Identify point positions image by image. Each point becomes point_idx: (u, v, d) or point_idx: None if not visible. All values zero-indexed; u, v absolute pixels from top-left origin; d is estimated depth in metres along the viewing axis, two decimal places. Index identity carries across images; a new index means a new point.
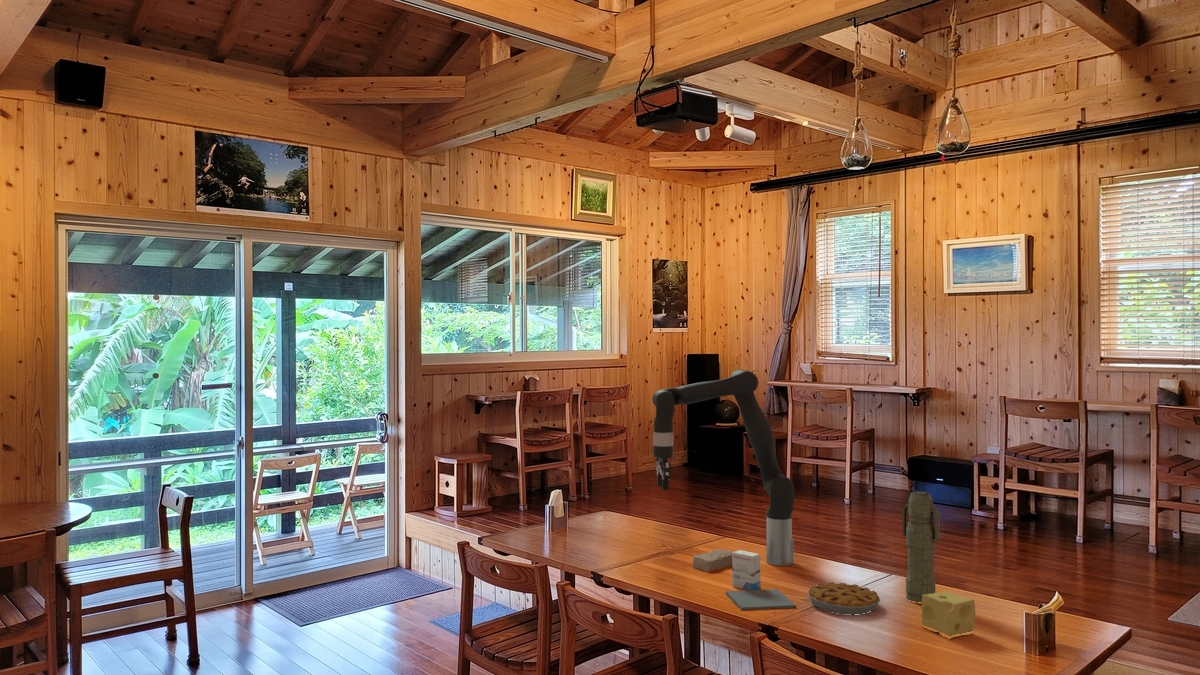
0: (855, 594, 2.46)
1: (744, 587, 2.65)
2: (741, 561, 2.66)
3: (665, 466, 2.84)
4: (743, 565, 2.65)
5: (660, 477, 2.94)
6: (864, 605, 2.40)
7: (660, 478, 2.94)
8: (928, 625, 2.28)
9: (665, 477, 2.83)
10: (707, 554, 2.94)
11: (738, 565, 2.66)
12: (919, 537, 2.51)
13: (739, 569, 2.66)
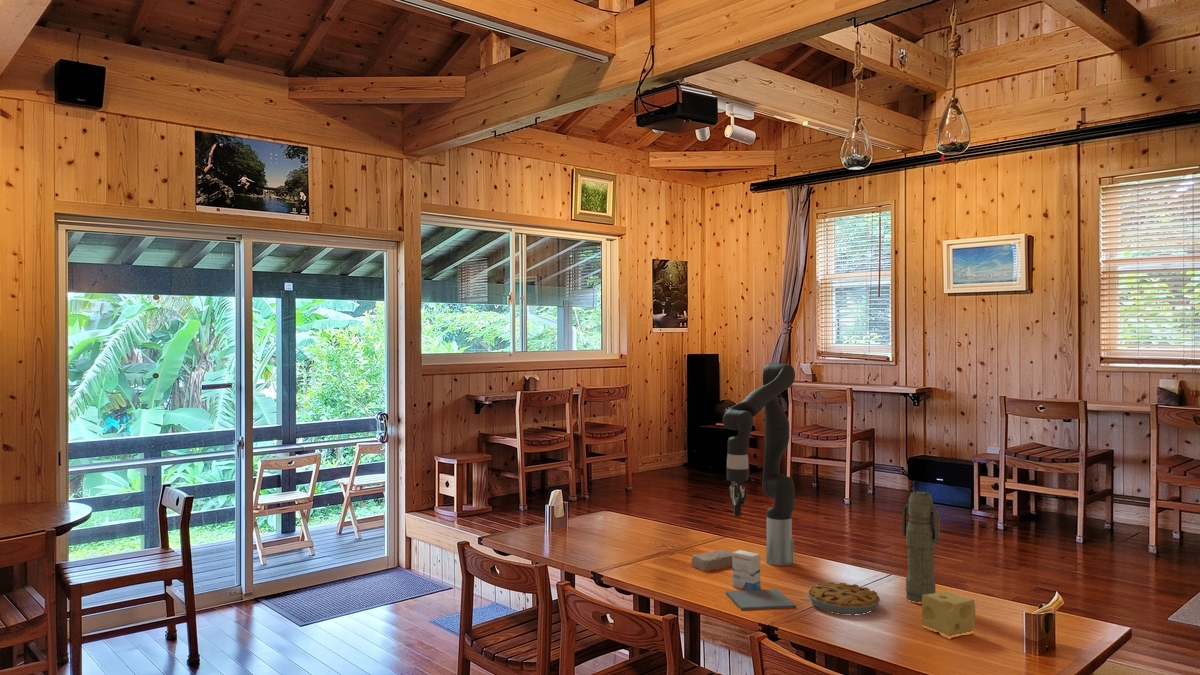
0: (855, 594, 2.46)
1: (744, 587, 2.65)
2: (741, 561, 2.66)
3: (740, 496, 2.72)
4: (743, 565, 2.65)
5: None
6: (864, 605, 2.40)
7: None
8: (928, 625, 2.28)
9: (738, 504, 2.74)
10: (707, 554, 2.94)
11: (738, 565, 2.66)
12: (919, 537, 2.51)
13: (739, 569, 2.66)
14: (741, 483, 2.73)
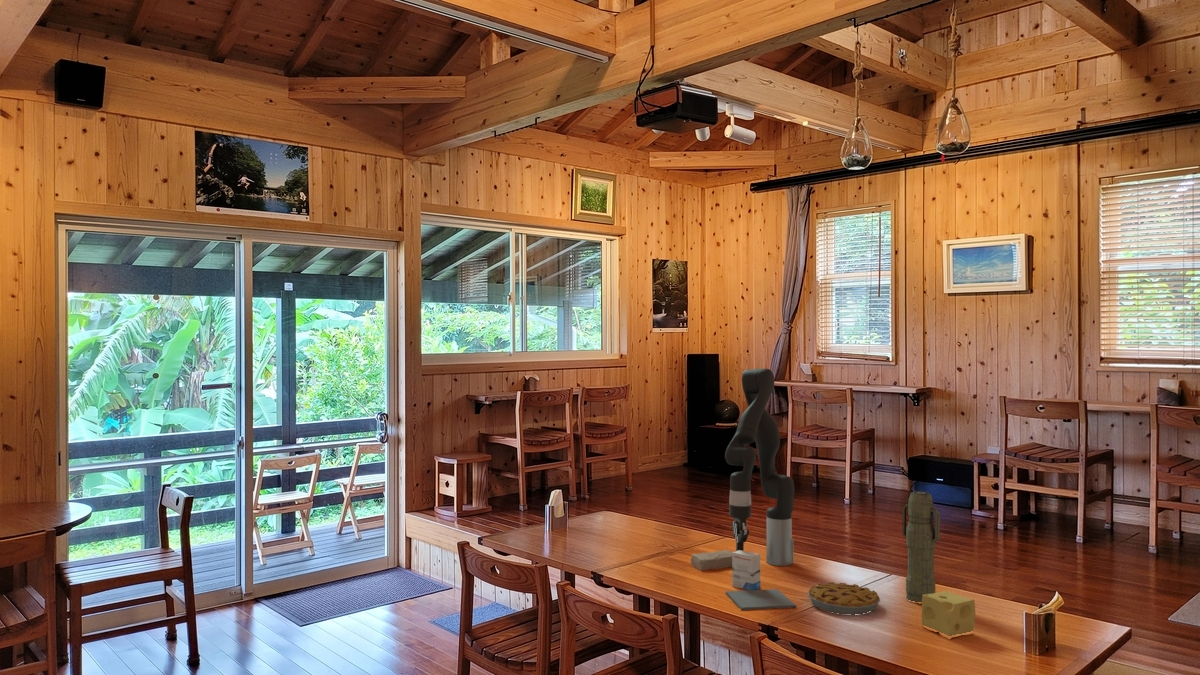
0: (855, 594, 2.46)
1: (744, 587, 2.65)
2: (741, 561, 2.66)
3: (743, 534, 2.68)
4: (743, 565, 2.65)
5: None
6: (864, 605, 2.40)
7: None
8: (928, 625, 2.28)
9: (740, 541, 2.70)
10: (708, 554, 2.95)
11: (738, 565, 2.66)
12: (919, 537, 2.51)
13: (739, 569, 2.66)
14: (744, 520, 2.70)
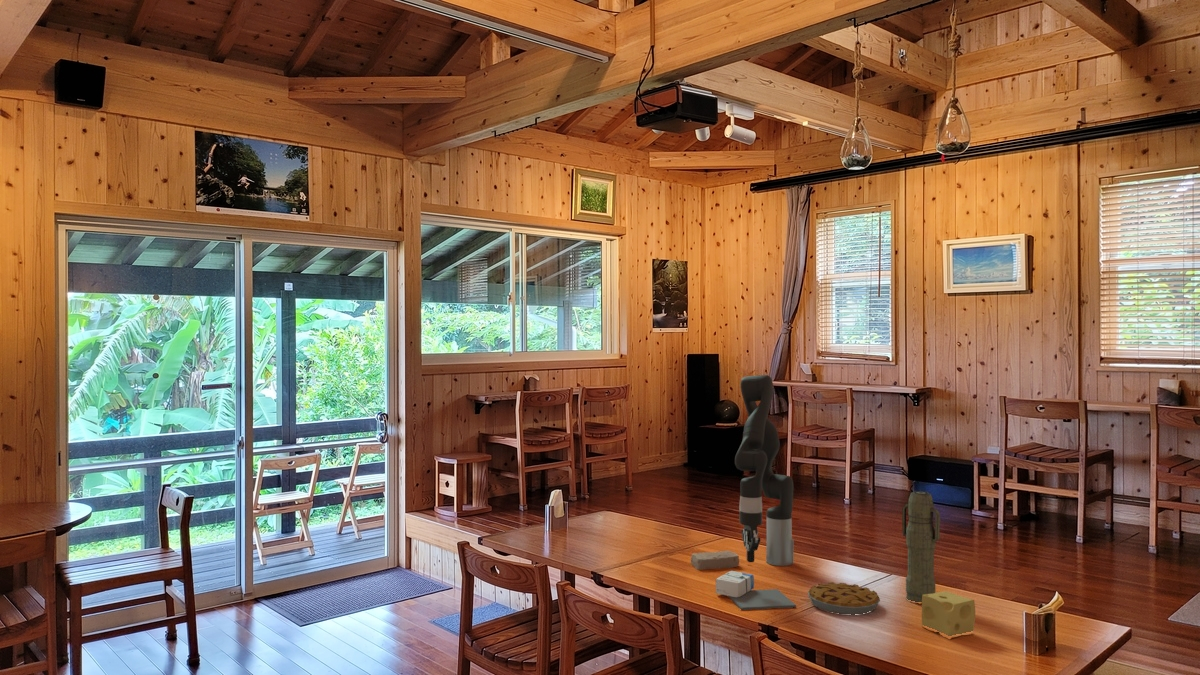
0: (855, 594, 2.46)
1: None
2: None
3: (754, 542, 2.57)
4: None
5: None
6: (864, 605, 2.40)
7: None
8: (928, 625, 2.28)
9: (751, 549, 2.59)
10: (708, 553, 2.95)
11: None
12: (919, 537, 2.51)
13: None
14: (755, 528, 2.59)
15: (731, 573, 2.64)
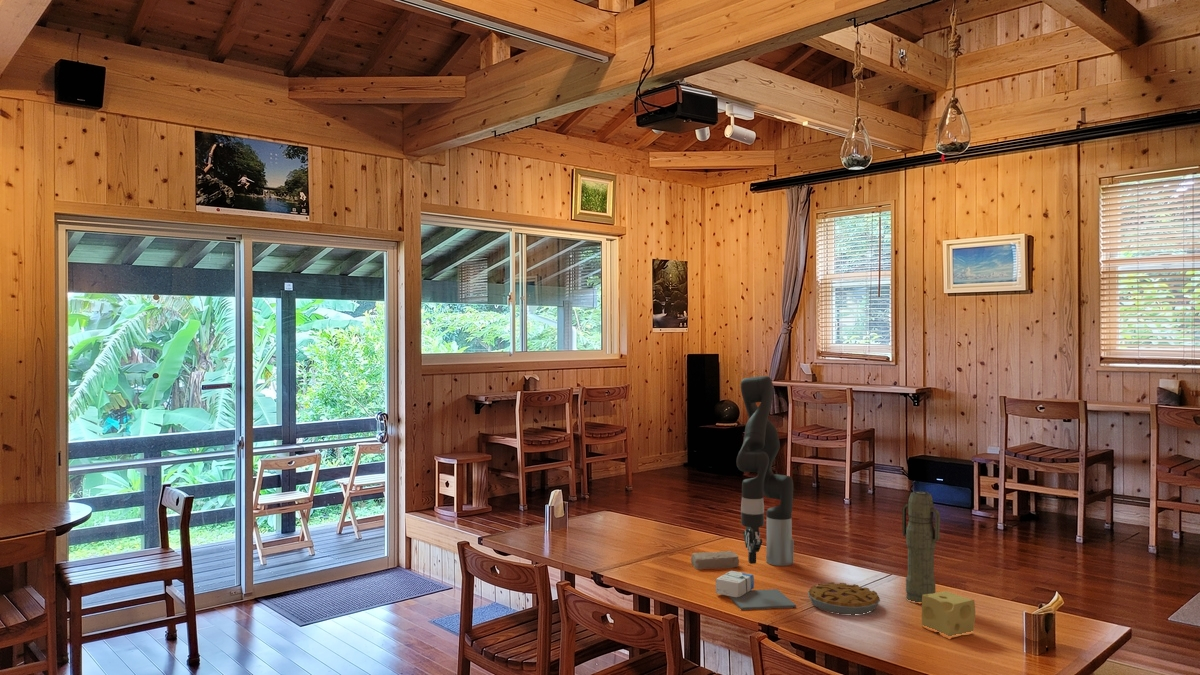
0: (855, 594, 2.46)
1: None
2: None
3: (756, 543, 2.56)
4: None
5: None
6: (864, 605, 2.40)
7: None
8: (928, 625, 2.28)
9: (753, 551, 2.58)
10: (708, 553, 2.95)
11: None
12: (919, 537, 2.51)
13: None
14: (756, 529, 2.58)
15: (731, 573, 2.64)
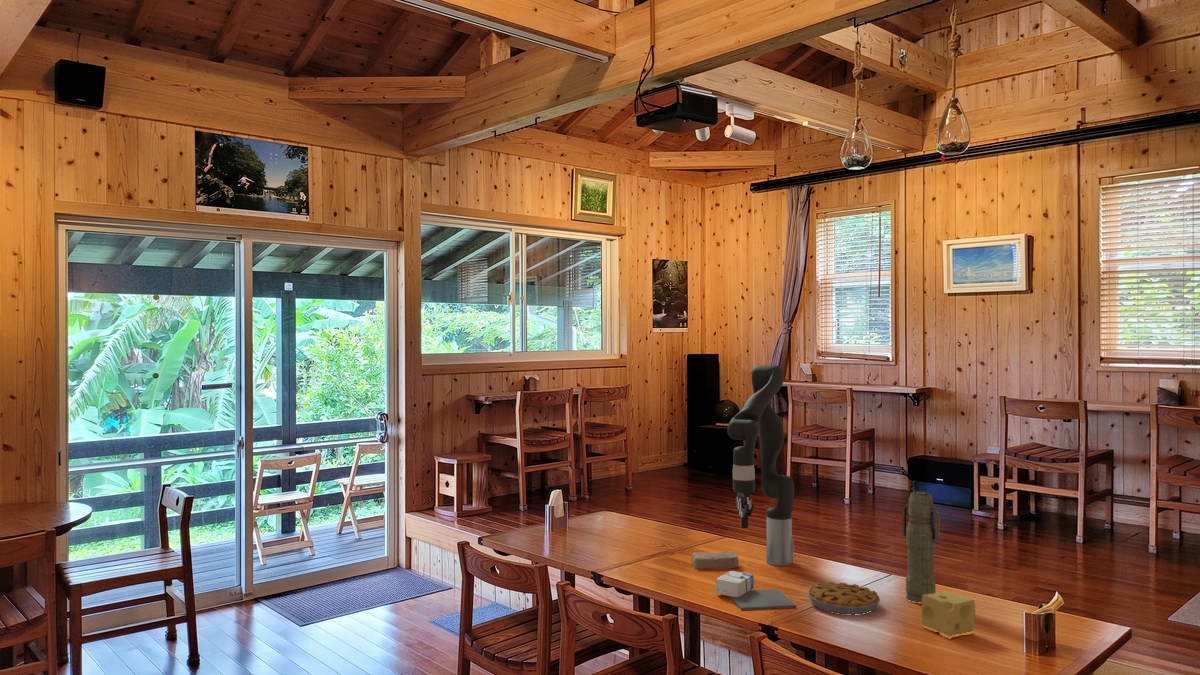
0: (855, 594, 2.46)
1: None
2: None
3: (747, 508, 2.65)
4: None
5: None
6: (864, 605, 2.40)
7: None
8: (928, 625, 2.28)
9: (745, 516, 2.67)
10: (709, 553, 2.95)
11: None
12: (919, 537, 2.51)
13: None
14: (748, 494, 2.67)
15: (731, 573, 2.64)
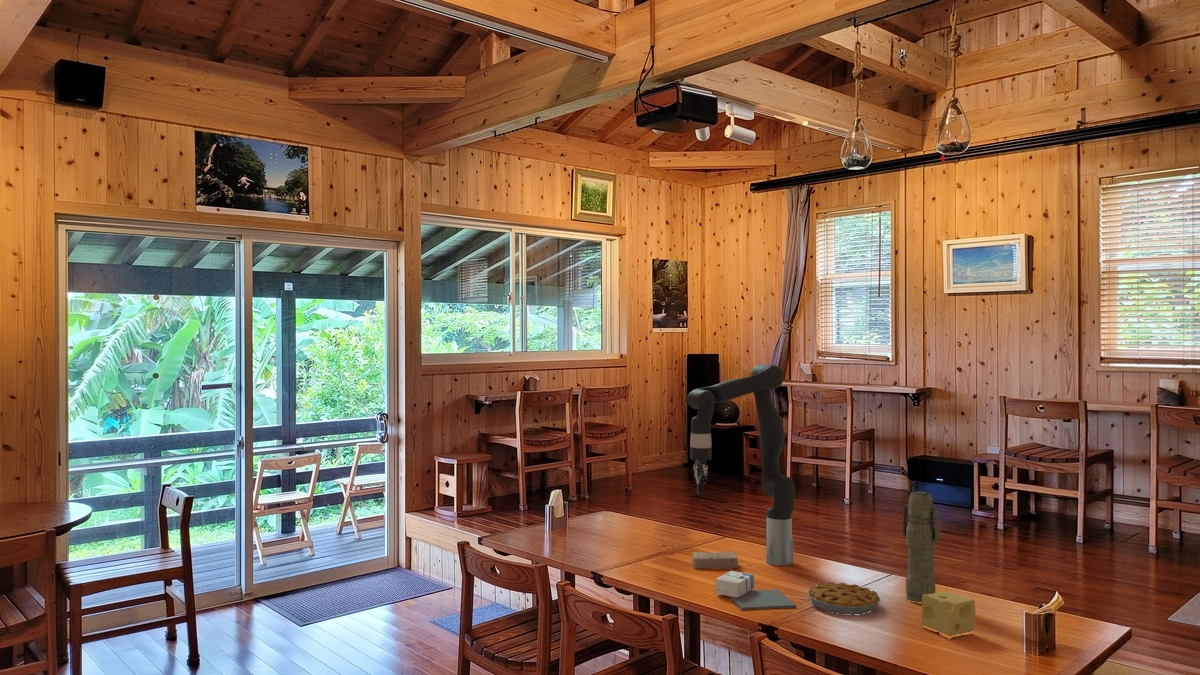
0: (855, 594, 2.46)
1: None
2: None
3: (703, 475, 2.75)
4: None
5: None
6: (864, 605, 2.40)
7: None
8: (928, 625, 2.28)
9: (701, 482, 2.77)
10: (709, 553, 2.95)
11: None
12: (919, 537, 2.51)
13: None
14: (704, 462, 2.77)
15: (731, 573, 2.64)
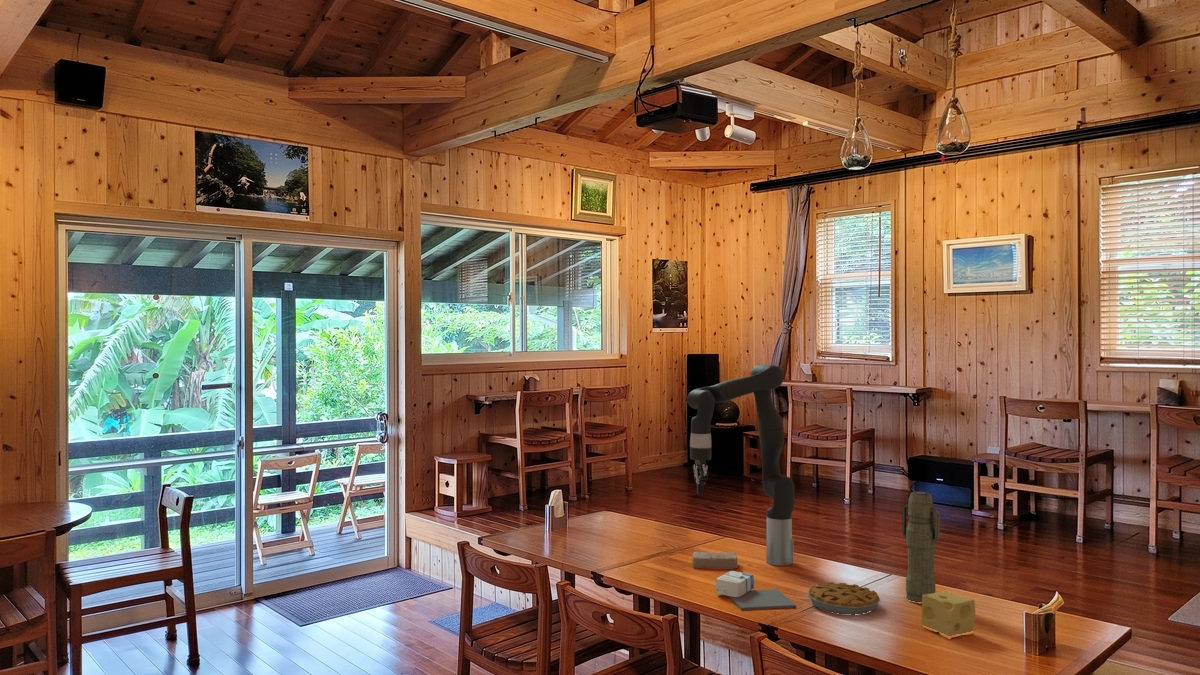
0: (855, 594, 2.46)
1: None
2: None
3: (702, 475, 2.75)
4: None
5: None
6: (864, 605, 2.40)
7: None
8: (928, 625, 2.28)
9: (700, 482, 2.77)
10: (710, 553, 2.95)
11: None
12: (919, 537, 2.51)
13: None
14: (704, 462, 2.77)
15: (731, 573, 2.64)
